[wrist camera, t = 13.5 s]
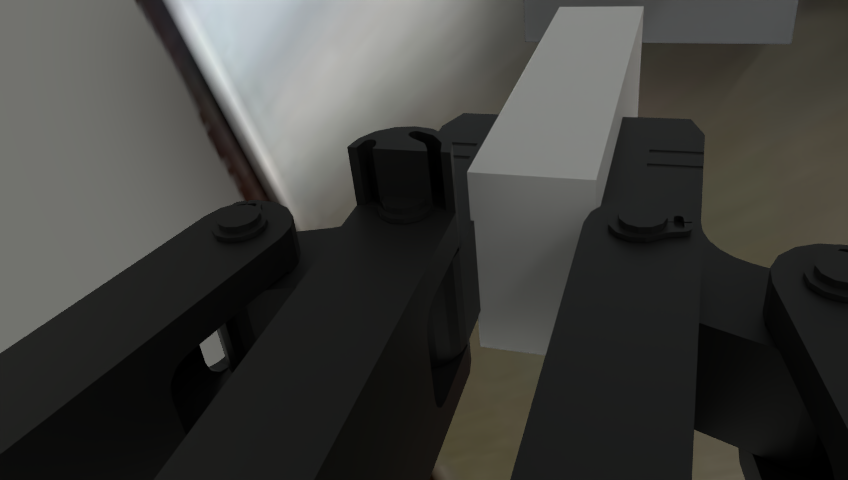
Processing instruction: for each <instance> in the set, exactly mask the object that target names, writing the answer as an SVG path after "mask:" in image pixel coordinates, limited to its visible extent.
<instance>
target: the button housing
mask: <svg viewBox="0 0 848 480" xmlns="http://www.w3.org/2000/svg"><path fill="white" fill-rule="evenodd" d="M614 6H644V11H643V29H642V43H721V44H791V42H792V36H793V30H794V24H795V18H796V12H797V6H798V0H524V22H525V42H540V41H541V39H542V37H543V36H544V34H545V32H546V30H547V29H548V27H549V25H550V23H551V21H552V20H553V18H554V16H555V14H556V12H557V11H558V9H559V7H614Z"/></svg>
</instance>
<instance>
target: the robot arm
mask: <svg viewBox="0 0 848 480" xmlns="http://www.w3.org/2000/svg"><path fill="white" fill-rule="evenodd" d="M643 11H644V6H614V7H559V9H558V11H557V12H556V14H555V16H554V18H553V20H552V21H551V23H550V25H549V27H548V29H547V30H546V32H545V34H544V36H543V37H542V39H541V41H540V43H539V45H538V46H537V48H536V50H535V52H534V53H533V55H532V57H531V59H530V61H529V62H528V64H527V66H526V68H525V69H524V71H523V73H522V75H521V77H520V78H519V80H518V82H517V84H516V86H515V87H514V89H513V91H512V93H511V94H510V96H509V98H508V100H507V102H506V103H505V105H504V107H503V109H502V110H501V112H500V114H499V115H495V114H469V113H463V114H462V115H460V116H458V117H457V118H455V119H453V120H452V121H450V122H448V123H447V124H445V125H443V126H442V128H441V129H440V130H439V131H436V130H434V129H429V128H422V127H394V128H390V129H385V130H380V131H375V132H373V133H370V134H368V135H366V136H363V137H361V138H359V139H357V140H356V141H355V142H353V143H352V144H351V145H349V146H348V147H347V148H348V154H349V160H350V166H351V172H352V177H353V183H354V189H355V195H356V201H357V206H356V207H355V209H354V210H353V211H352V213H351V214H350V215H349V217H348V218H347V219H346V221H345V222H344V223H343V225H342V226H341V227H335V228H328V229H318V230H308V231H298V232H296V228H295V224H294V219H293V216H292V214H291V213H290V211H289V210H288V208H287V207H284V206H282V205H280V204H278V203H276V202H267V201H259V200H249V202H247V201H241V202H236V203H234V204H233V205H230V206H227V207H223V208H220V209H218V210H216V211H214V212H212V213H210V214H208V215H206V216H204V217H203V218H201V219H200V220H199V221H197V222H195V223H194V224H192V225H191V226H189V227H188V228H187V229H185V230H184V231H182V232H181V233H179V234H178V235H176V236H175V237H173V238H172V239H170V240H169V241H167V242H166V243H164V244H163V245H162V246H160V247H158V248H157V249H155V250H154V251H152V252H151V253H149V254H148V255H147V256H145V257H144V258H142V259H141V260H139V261H137V262H136V263H134V264H133V265H131V266H130V267H128V268H127V269H125V270H124V271H122V272H121V273H119V274H118V275H116V276H115V277H113V278H112V279H111V280H109V281H108V282H106V283H105V284H103V285H102V286H100V287H99V288H97V289H96V290H94V291H93V292H91V293H90V294H88V295H87V296H85V297H84V298H82V299H81V300H79V301H78V302H76V303H75V304H74V305H72V306H71V307H69V308H68V309H66V310H64V311H63V312H61V313H60V314H58V315H57V316H55V317H54V318H52V319H51V320H50V321H48V322H46V323H45V324H44V325H42V326H40V327H39V328H37V329H36V330H35V331H33V332H32V333H30V334H29V335H27V336H26V337H24V338H23V339H21V340H20V341H18V342H17V343H15V344H14V345H12V346H11V347H9V348H8V349H6V350H5V351H3V352H2V353H0V480H429V479H430V476H431V473H432V471H433V468H434V465H435V463H436V460H437V457H438V455H439V452H440V450H441V447H442V444H443V442H444V439H445V436H446V434H447V431H448V429H449V426H450V423H451V421H452V418H453V415H454V413H455V410H456V407H457V405H458V402H459V400H460V397H461V394H462V392H463V389H464V386H465V384H466V381H467V379H468V376H469V373H470V366H471V353H470V342H469V338H470V336H471V333H472V331H473V328H474V326H475V323H476V321H477V319H478V322H479V335H480V347H488V348H495V349H502V350H510V351H517V352H525V353H532V354H539V355H546V356H545V359H544V363H543V367H542V370H541V374H540V377H539V381H538V384H537V388H536V391H535V395H534V398H533V402H532V405H531V409H530V412H529V416H528V419H527V423H526V427H525V430H524V434H523V437H522V441H521V444H520V448H519V451H518V455H517V458H516V462H515V465H514V469H513V472H512V476H511V479H510V480H692V461H693V440H694V430H697V431H699V432H702V433H704V434H707V435H709V436H711V437H714V438H716V439H719V440H721V441H723V442H726V443H728V444H731V445H733V446H736V447H738V448H739V460H740V465H741V468H742V471H743V474H744V477H745V480H848V245H833V244H813V245H806V246H800V247H795V248H793V249H791V250H789V251H787V252H785V253H783V254H781V255H778V257H777V258H776V260H775V261H774V263H773V264H772V266H771V267H770V268H767V267H763V266H759V265H756V264H752V263H749V262H746V261H744V260H741V259H738V258H735V257H733V256H731V255H729V254H727V253H726V252H724V251H722V250H720V249H719V248H717V247H716V246H715V245H714V244H713V243H711V242H710V241H709V240H708V238H707V237H706V235H705V234H704V232H703V230H702V225H701V208H702V185H703V163H704V141H705V135H704V134H703V132H702V131H701V130H700V129H699V128H698V127H697V126H696V125H695V124H694V122H693V121H692V120H691V119H667V118H640V117H638V100H639V82H640V64H641V46H642V29H643ZM216 330H217V332H218V335H219V338H220V342H221V344H222V348H223V351H224V354H225V357H224V358H223V359H221V360H220V361H219V362H218V363H216V364H214V365H212V366H210V367H208V366H207V364H206V363H205V361H204V358H203V354H202V351H201V348H200V345H199V344H200V343H202V342H203V341H204V340H205V339H206V338H208V337H209V336H210V335H211V334H212V333H214V332H215V331H216Z"/></svg>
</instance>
